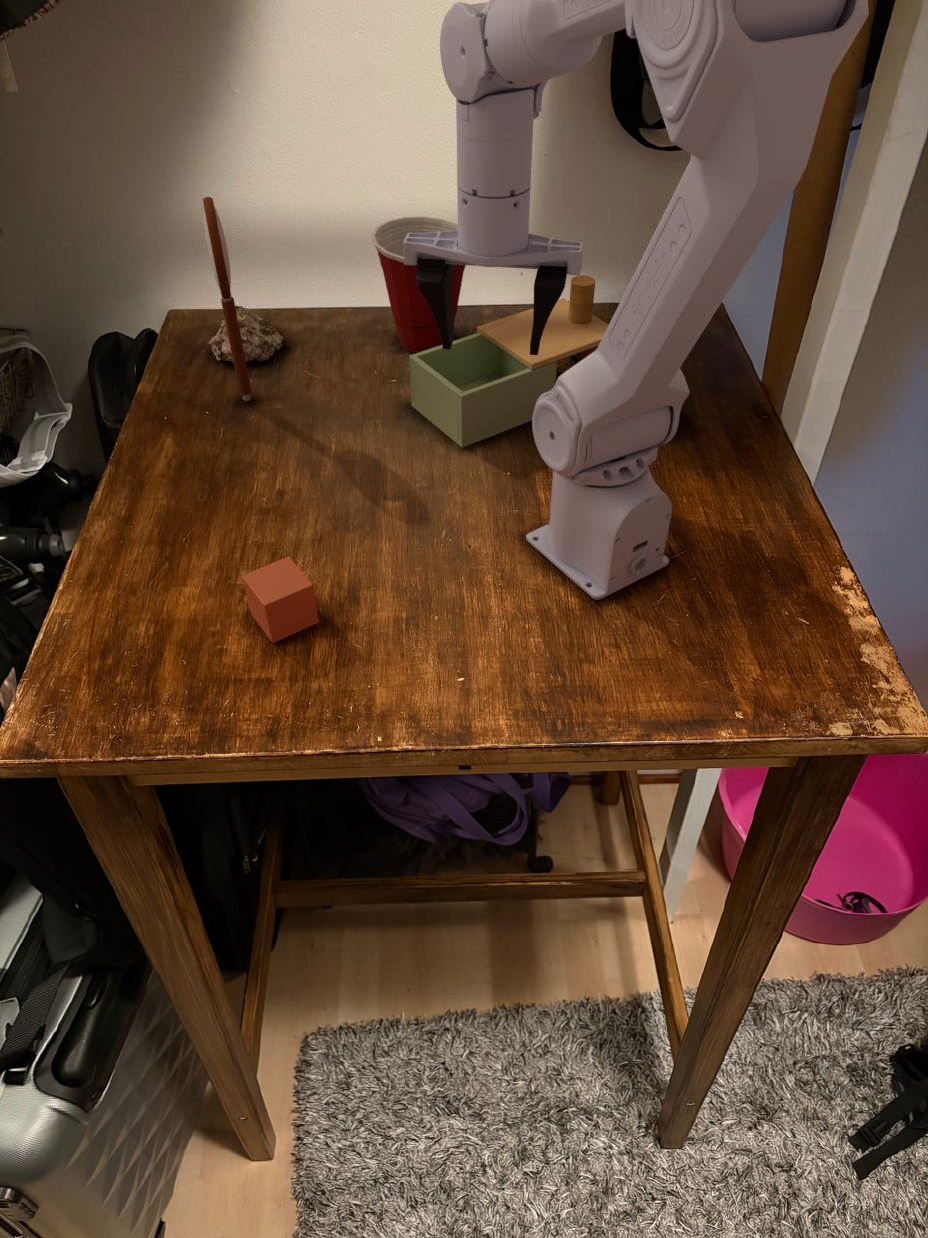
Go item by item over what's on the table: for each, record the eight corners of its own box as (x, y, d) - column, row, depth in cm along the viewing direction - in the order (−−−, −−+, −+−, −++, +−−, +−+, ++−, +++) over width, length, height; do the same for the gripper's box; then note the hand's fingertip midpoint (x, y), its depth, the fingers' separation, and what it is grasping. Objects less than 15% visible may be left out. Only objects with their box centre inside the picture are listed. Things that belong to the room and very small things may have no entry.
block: (319, 622, 70) (313, 584, 67) (272, 643, 69) (264, 605, 66) (296, 593, 73) (289, 555, 70) (250, 613, 71) (241, 575, 68)
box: (553, 412, 91) (557, 361, 87) (461, 448, 87) (461, 396, 83) (500, 373, 97) (501, 324, 93) (411, 405, 92) (408, 355, 88)
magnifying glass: (235, 381, 96) (195, 183, 82) (252, 378, 96) (214, 181, 82) (242, 424, 90) (200, 219, 76) (259, 422, 90) (221, 216, 76)
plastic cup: (455, 373, 97) (453, 262, 88) (363, 356, 100) (353, 247, 91) (488, 327, 104) (490, 221, 96) (402, 313, 107) (396, 208, 98)
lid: (621, 337, 91) (626, 293, 87) (531, 369, 86) (534, 324, 83) (563, 303, 96) (566, 260, 93) (476, 331, 92) (477, 287, 88)
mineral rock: (289, 342, 97) (211, 331, 94) (283, 380, 100) (208, 370, 97) (280, 301, 105) (208, 290, 102) (275, 337, 107) (205, 327, 105)
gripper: (590, 171, 72) (576, 330, 82) (412, 163, 74) (418, 320, 83) (585, 204, 67) (571, 369, 77) (394, 194, 69) (403, 357, 79)
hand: (491, 346), depth 80 cm, fingers open, 7 cm apart
